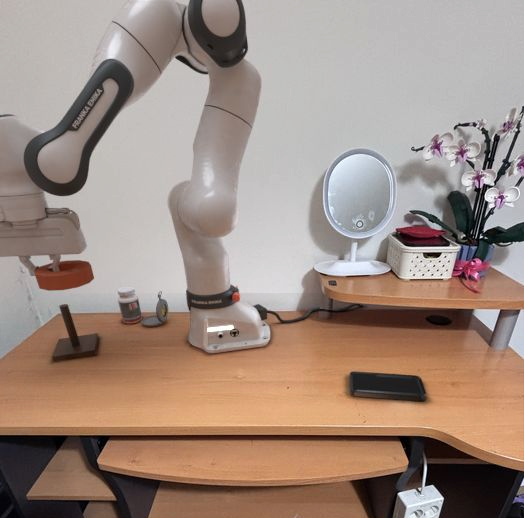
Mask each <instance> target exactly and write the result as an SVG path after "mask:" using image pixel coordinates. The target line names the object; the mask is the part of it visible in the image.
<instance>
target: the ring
mask: <svg viewBox="0 0 524 518" xmlns="http://www.w3.org/2000/svg"><path fill="white" fill-rule="evenodd" d="M52 263H53V262H50V263H46V264H44V265H40V266H39V268H37V269H36V270H34V274H35V276H34V277H35V280H36V282H37V285H38V288H39V289H40V290H44V291H48V292H49V291H50V292H53V291H66V290H67V291H68V290H71V289H76V288H80V287H83V286H86V285H88V284H90V283H91V282H92V281H93V280H94V279H95V275H94V271H93V267H92V265H91V263H90V261H86V260H80V259H76V260H75V259H74V260H73V259H72V260H60V262H59V265H58V267H59V270H60V272H52V271H49V270H48V267H50V266H52Z"/></svg>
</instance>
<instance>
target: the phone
mask: <svg viewBox="0 0 524 518" xmlns="http://www.w3.org/2000/svg"><path fill="white" fill-rule="evenodd" d="M348 377H349V394H350V395H351V396H352V397H353V396H354V397H361V398H362V397H363V398H376V399H389V400H401V401H413V402H414V401H415V402H424V401H426V398H427V391H426V389H425V386H424V382H423V379H422V377H421V376H419V375H415V374H403V373H402V374H400V373H386V372H371V371H370V372H369V371H357V370H355V371H350V372H349V376H348Z"/></svg>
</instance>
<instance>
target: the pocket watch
mask: <svg viewBox="0 0 524 518" xmlns="http://www.w3.org/2000/svg"><path fill="white" fill-rule="evenodd" d="M162 293H163V292H162V291H159V292H158V293H157V298H158V301H157V303H156V306H155V315H154V314H153V315H149V316H146V317H144V318H142V319H141V320H140V322H141V325H142V326H144V327H149V328H153V327H157V326H161V325H162V324H163V323H164V322H166V321H167V319H168V316H169V303H168V302H167V300H166V299H164V298H162Z"/></svg>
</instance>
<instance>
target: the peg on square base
mask: <svg viewBox="0 0 524 518" xmlns="http://www.w3.org/2000/svg"><path fill="white" fill-rule="evenodd" d="M58 307H59V310H60V314H61V317H62V319H63V323H64V326H65V328H66V332H67V334H68V337H63V338H58V340H57V342H56V345H55V347H54V349H53V353H52V355H51V359H52V362H60V361H66V360H67V361H68V360H72V359H79V358H87V357H91V356H96V355H97V351H98V345H99V339H100V336H99V333H97V332H96V333H88V334H83V335H78V332H77V328H76V326H75V322H74V319H73V317H72V313H71V311H70V307H69V304H68V303H64V304H60V305H58Z"/></svg>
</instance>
